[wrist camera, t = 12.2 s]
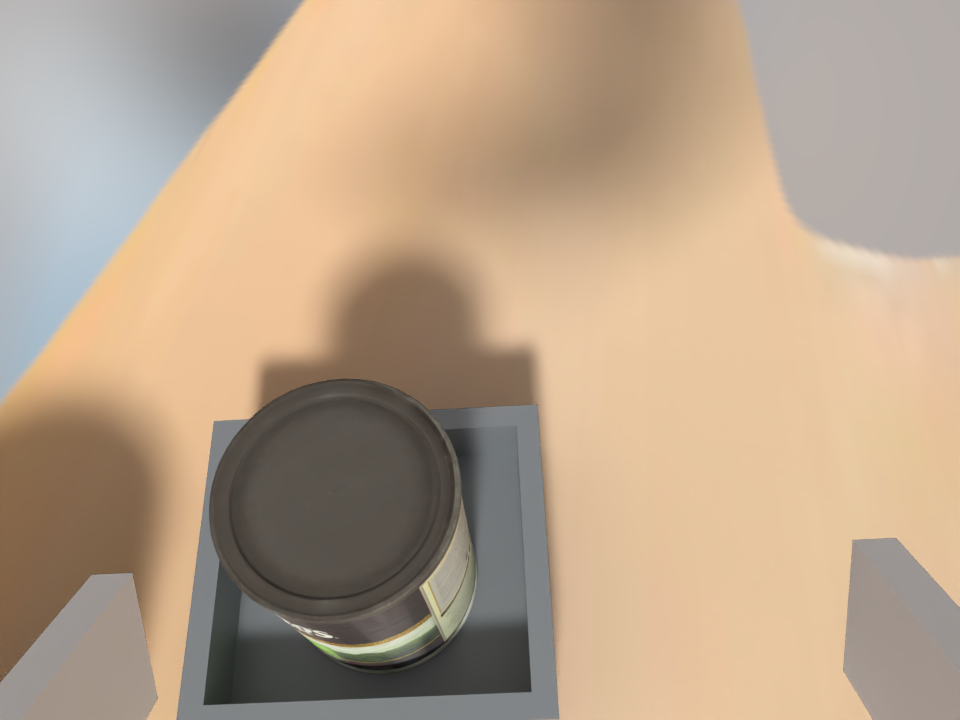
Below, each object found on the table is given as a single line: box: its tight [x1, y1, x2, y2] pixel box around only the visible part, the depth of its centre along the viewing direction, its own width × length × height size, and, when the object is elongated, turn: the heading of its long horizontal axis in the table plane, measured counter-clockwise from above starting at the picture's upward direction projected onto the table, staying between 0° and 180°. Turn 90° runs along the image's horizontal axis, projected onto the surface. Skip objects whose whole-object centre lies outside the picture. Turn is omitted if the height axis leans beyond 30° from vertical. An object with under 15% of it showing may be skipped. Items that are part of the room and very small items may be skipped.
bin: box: [177, 404, 559, 720], centre depth 47 cm, size 18×16×7 cm
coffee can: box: [209, 379, 478, 674], centre depth 41 cm, size 10×10×14 cm
